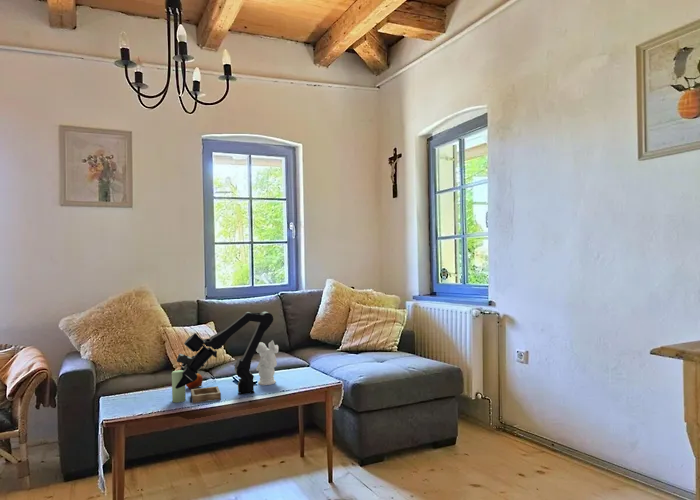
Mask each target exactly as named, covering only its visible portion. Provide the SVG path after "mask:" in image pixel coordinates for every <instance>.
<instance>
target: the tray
mask: <svg viewBox="0 0 700 500" xmlns="http://www.w3.org/2000/svg"><path fill="white" fill-rule="evenodd" d="M221 396H222V392H221V391H220V388H219V386H209V387H201V388H200V387H198V388H194V389H190V397H191V401H192V404H196V403H197V404H198V403H203V402H204V403H205V402H210V401H211V402H212V401H218V400H222V397H221Z"/></svg>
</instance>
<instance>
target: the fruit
mask: <svg viewBox="0 0 700 500" xmlns="http://www.w3.org/2000/svg"><path fill="white" fill-rule="evenodd" d="M203 379H204V378H203V375H201V373H199V372H198V373H197V379H196V380H195V381H193V382H191V383H189V384H186V385H185V387H187V388H188V389H190V390H191V389H199V388H200V387H201V388H204V387H203Z"/></svg>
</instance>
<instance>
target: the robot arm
mask: <svg viewBox="0 0 700 500" xmlns="http://www.w3.org/2000/svg"><path fill="white" fill-rule="evenodd" d="M249 322H255V323H256V328H255V330H254V332H253V334H252V337H251V339H250V341H249V343H248V345H247V348H246V350H244V351H245V352H244V354H243V355H242V357H240V358H239V357H237V359H236V362H235V364H234V365H233V366H234V369H233V371H234V373H235V374H236V376H237V377H238V378H239V379H238V382H237V391H238V393H239V394H240V395H248V394H254V393H255V391H254V388H255V387H254V378H255V376H254V375H253V373H252V372H251V371H250V370H251V366H252V365H251V364H252V360H253V358H254V356H255V353H256V352H257V351H256V349H257V347H258V345H259V343H260V342H262V341H261V340H262V338H263V336H264V334H265V332H266V331H267V330H268V329H269V328H270V326H271V325H272V324H273V322H274V316H273V314H272V313H270V312H268V311H262V312H250V311H246V312H244V313H243V314H242V315H241V316H240V317H239V318H238V319H236V320H235V321H233V322H232V323H231V324H230V325H229V326H227V327H226V328H225V329H224V330H221V331H218V332H217V333H215V334H214V335H212V336H210V337H209V338H206V339H202V338H201V337H200V336H199V335H198V334H197V333H195V332H194V333H193V334H192V335H190V336H189V337H188V338H187V339H186V340H185V342H184V343H183V345H184V346H186V348H188V349H189V350H190V351H191V352H193V353H194V352H196V354H195V355H192V356H188V355H186V354H182V353H178V354H177V355H178V356H177V358H176V362H177V363H178V364H179V363H180V364H181V365H180V370H184V371H183V372H182V378H181V379H180V381H179V382H178V384H177V385H176V387H175V388H176V389H178V388H180V387H182V386H184V385H185V386H186V384H189V383H191V382H193V381H195V380H196V379H197V373H198V374H199V372H198V371H200V369H202V368H203V367H204V366H205V364H206V363H207V362H208V361H209V360H210V359H211V357H212V356H213V357H214V358H218V356H217V355H218V354H217V353H218V351H217V350H220V349H222V347H223V346H224V345H225V344H226V343H227V341H228V340H229V338H231V336H233V335H234V334H235V333H237V332H238V331H239V330H241V329H242V328H243V327H245V326H246V325H247V324H248V323H249Z"/></svg>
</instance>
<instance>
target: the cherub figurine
mask: <svg viewBox="0 0 700 500" xmlns="http://www.w3.org/2000/svg"><path fill="white" fill-rule="evenodd" d="M279 348H280V347H279V345H278V344H275V342H274V339H272V340H271V341H270V342H268V347H267V345H266V343H264V342H262V341H260V343H259V345H258V347H257V349H256V351H255V352H257V353H256V354H259V357H260V359H259V362H258V364H257V366H256V368H255V371H258V375H259V380H258V382H257V384H258V385H260V386H271V385H273V384H276V383H277V381H276V379H275V377H274V376H275V372H276V371H275V368H276V367H277V365H278V361H277V357H276V354H277V353H279Z"/></svg>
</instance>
